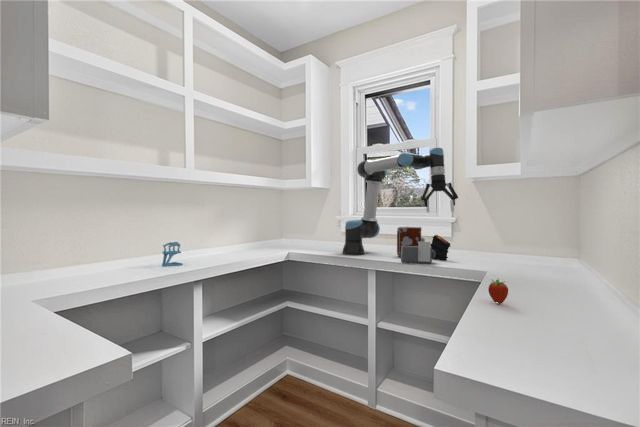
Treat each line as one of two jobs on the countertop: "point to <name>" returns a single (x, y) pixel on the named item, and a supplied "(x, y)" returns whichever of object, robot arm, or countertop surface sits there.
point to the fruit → (498, 291)
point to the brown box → (408, 237)
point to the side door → (423, 251)
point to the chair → (171, 254)
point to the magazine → (440, 248)
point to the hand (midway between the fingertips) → (440, 211)
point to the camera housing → (413, 255)
